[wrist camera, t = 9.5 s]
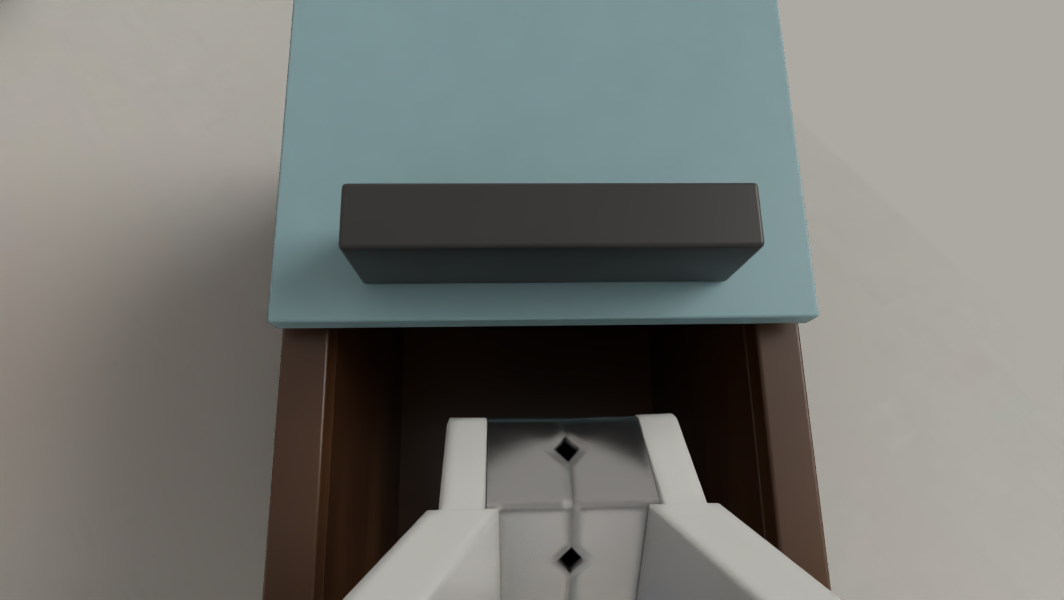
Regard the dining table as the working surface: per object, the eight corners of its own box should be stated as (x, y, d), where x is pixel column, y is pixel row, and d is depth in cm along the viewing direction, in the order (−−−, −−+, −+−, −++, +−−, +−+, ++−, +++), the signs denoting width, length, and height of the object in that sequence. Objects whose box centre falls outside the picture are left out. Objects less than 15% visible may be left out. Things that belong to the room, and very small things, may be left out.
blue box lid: (275, 329, 11) (221, 291, 9) (303, -17, 13) (262, -118, 11) (807, 323, 12) (876, 286, 10) (764, -12, 14) (815, -109, 11)
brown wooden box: (371, 610, 19) (251, 724, 10) (388, 158, 23) (311, -60, 14) (686, 602, 20) (846, 704, 11) (654, 159, 23) (753, -54, 14)
